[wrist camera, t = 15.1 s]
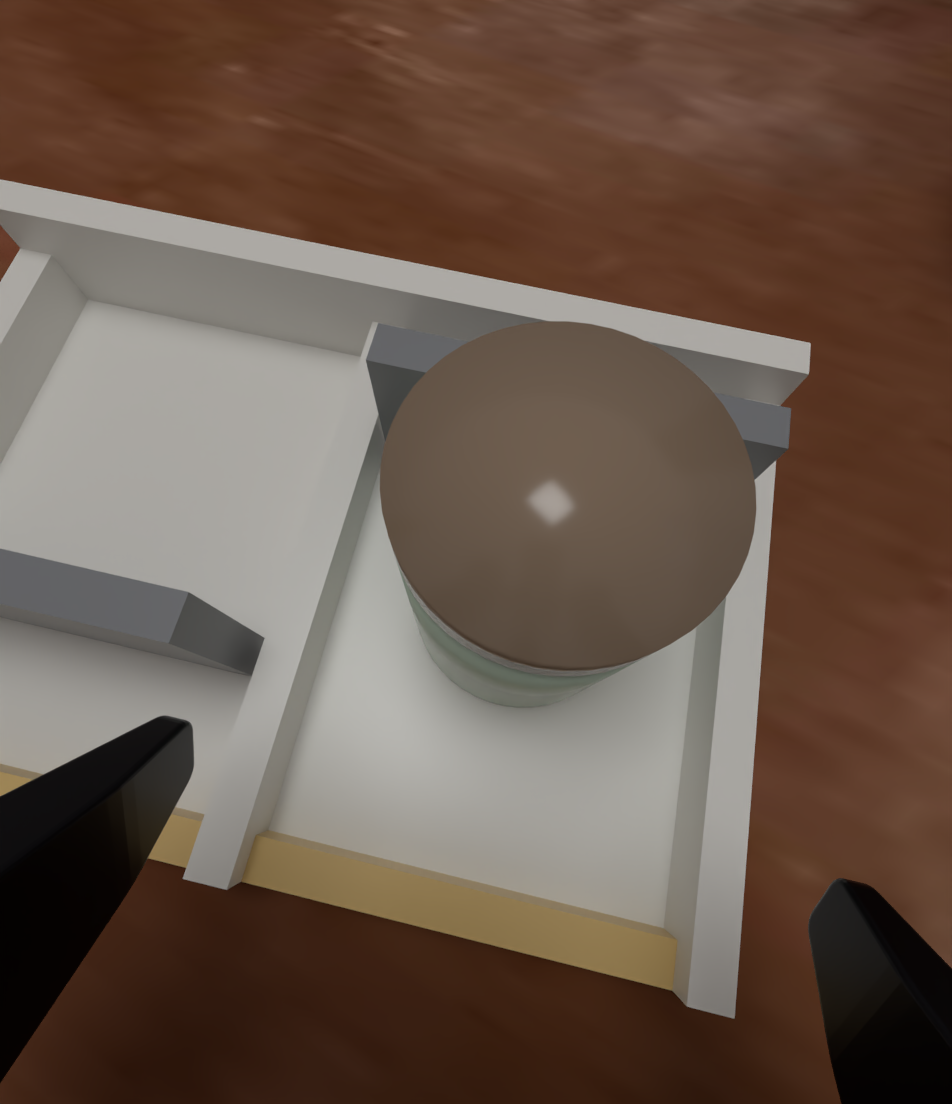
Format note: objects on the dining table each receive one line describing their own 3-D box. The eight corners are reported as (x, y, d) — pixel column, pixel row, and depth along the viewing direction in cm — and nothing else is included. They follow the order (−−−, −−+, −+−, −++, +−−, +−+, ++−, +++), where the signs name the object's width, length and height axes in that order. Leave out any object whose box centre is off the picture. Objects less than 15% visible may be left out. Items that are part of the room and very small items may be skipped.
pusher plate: (694, 536, 18) (788, 448, 13) (391, 470, 18) (365, 360, 13) (697, 505, 18) (791, 408, 13) (400, 441, 19) (378, 322, 14)
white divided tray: (690, 976, 15) (837, 1116, 9) (-175, 759, 16) (-534, 761, 10) (743, 421, 20) (860, 285, 14) (83, 283, 21) (-59, 104, 15)
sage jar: (516, 756, 16) (567, 757, 8) (370, 590, 17) (302, 461, 10) (669, 607, 17) (832, 492, 10) (523, 464, 19) (569, 264, 11)
